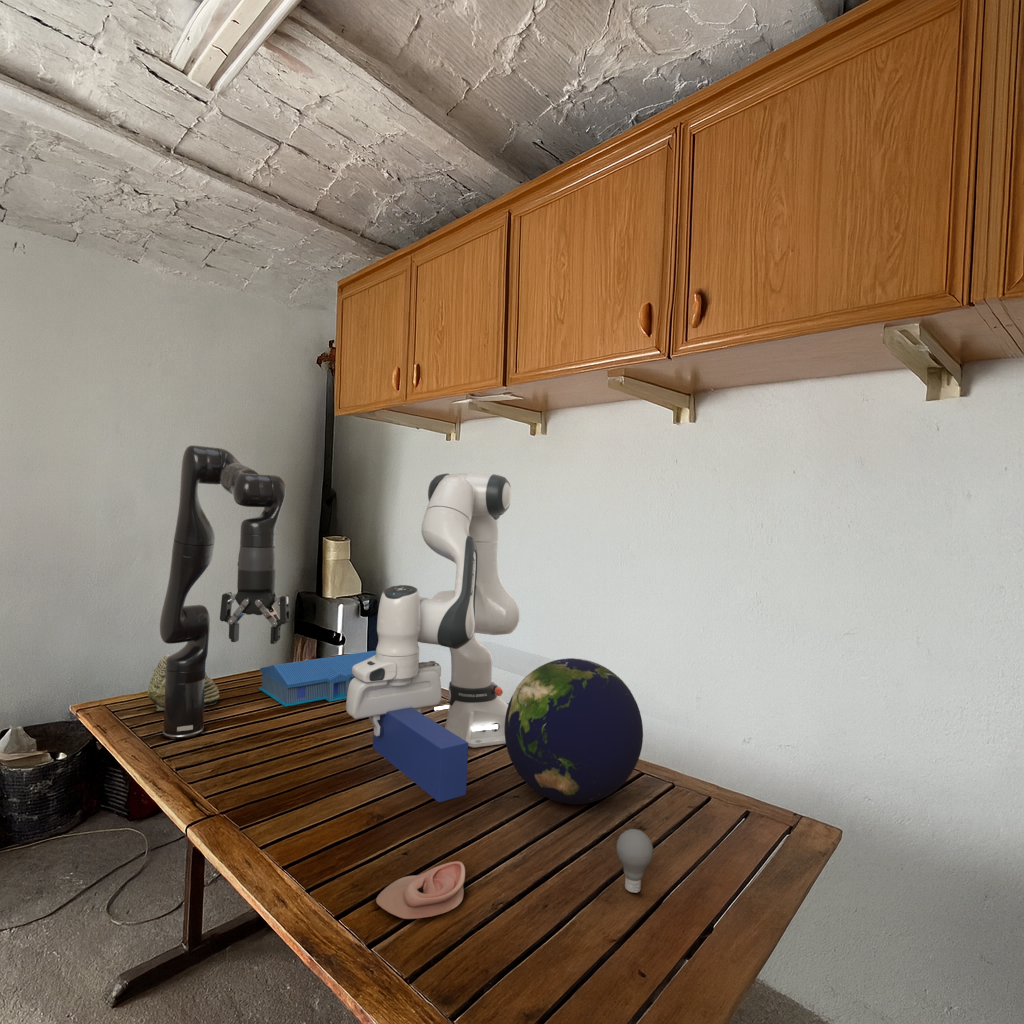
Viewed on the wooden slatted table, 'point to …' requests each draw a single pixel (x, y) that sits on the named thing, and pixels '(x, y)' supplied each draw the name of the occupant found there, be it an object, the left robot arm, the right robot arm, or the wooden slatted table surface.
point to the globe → (573, 731)
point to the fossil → (158, 687)
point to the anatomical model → (425, 892)
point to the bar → (424, 752)
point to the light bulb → (634, 857)
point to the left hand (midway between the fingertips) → (254, 642)
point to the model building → (311, 679)
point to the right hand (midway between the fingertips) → (394, 732)
